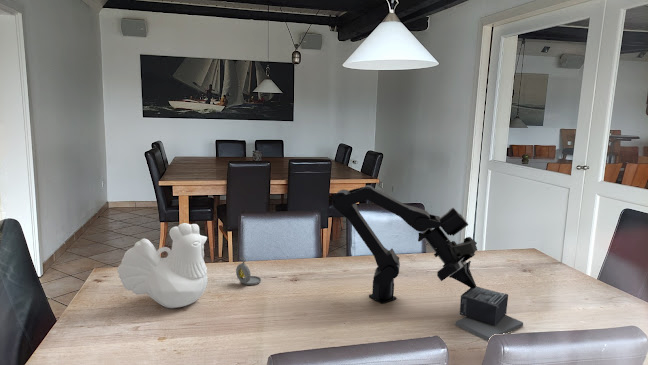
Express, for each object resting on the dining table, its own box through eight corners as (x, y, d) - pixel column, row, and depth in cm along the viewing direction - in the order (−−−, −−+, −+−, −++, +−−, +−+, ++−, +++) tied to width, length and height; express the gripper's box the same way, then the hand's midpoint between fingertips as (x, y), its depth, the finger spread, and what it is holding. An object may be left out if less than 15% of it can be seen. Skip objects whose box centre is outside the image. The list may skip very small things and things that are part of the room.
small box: (458, 316, 127) (495, 327, 121) (459, 295, 126) (496, 305, 120) (472, 304, 135) (507, 314, 129) (473, 284, 134) (508, 293, 128)
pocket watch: (262, 279, 154) (263, 252, 152) (256, 288, 146) (256, 260, 144) (240, 277, 155) (240, 250, 153) (233, 287, 147) (232, 258, 145)
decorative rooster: (207, 289, 144) (206, 215, 140) (209, 309, 130) (208, 228, 126) (125, 296, 137) (121, 219, 133) (117, 319, 122) (112, 233, 118)
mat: (489, 342, 115) (489, 337, 115) (455, 325, 124) (455, 321, 124) (522, 326, 125) (523, 322, 124) (488, 311, 133) (489, 307, 133)
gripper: (451, 236, 122) (488, 284, 118) (470, 224, 137) (504, 265, 133) (422, 258, 128) (457, 303, 123) (444, 243, 143) (475, 283, 138)
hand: (475, 288), depth 129 cm, fingers closed
